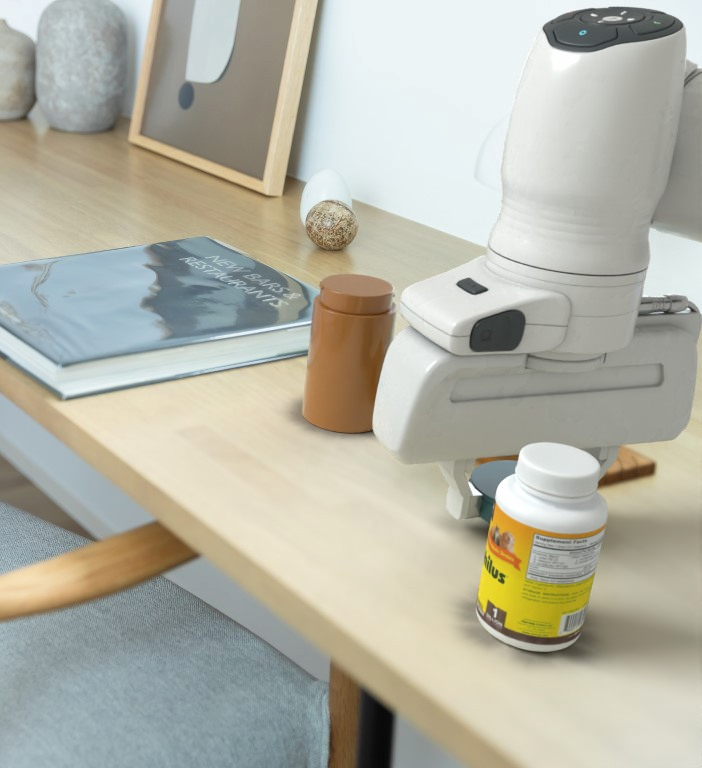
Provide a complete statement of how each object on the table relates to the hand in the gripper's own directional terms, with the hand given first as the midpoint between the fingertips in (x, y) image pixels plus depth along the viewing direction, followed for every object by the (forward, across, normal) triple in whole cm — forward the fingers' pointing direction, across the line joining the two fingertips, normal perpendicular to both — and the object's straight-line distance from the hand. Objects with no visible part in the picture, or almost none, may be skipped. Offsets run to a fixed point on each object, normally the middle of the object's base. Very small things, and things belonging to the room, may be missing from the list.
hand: (516, 508), depth 74 cm
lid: (-2, 0, 0) cm, 2 cm away
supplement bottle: (+1, +6, +10) cm, 12 cm away
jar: (+1, +4, -17) cm, 18 cm away
